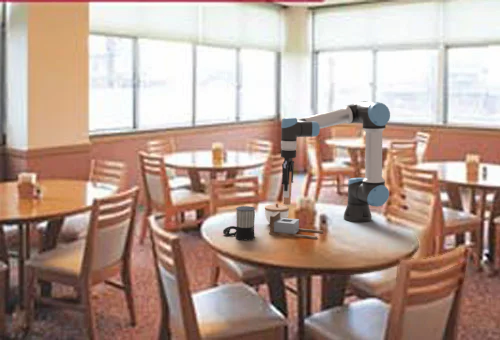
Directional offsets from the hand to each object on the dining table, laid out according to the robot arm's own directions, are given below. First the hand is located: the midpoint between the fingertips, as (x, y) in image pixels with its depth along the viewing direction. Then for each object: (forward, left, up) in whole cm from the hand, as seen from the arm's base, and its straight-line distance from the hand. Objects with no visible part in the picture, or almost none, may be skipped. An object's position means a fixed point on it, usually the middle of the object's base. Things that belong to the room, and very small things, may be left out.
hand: (287, 196), depth 300 cm
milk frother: (+19, +16, -19) cm, 31 cm away
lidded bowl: (+10, -16, -19) cm, 26 cm away
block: (0, 0, -18) cm, 18 cm away
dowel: (0, 0, -4) cm, 4 cm away
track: (-5, 0, -18) cm, 19 cm away
